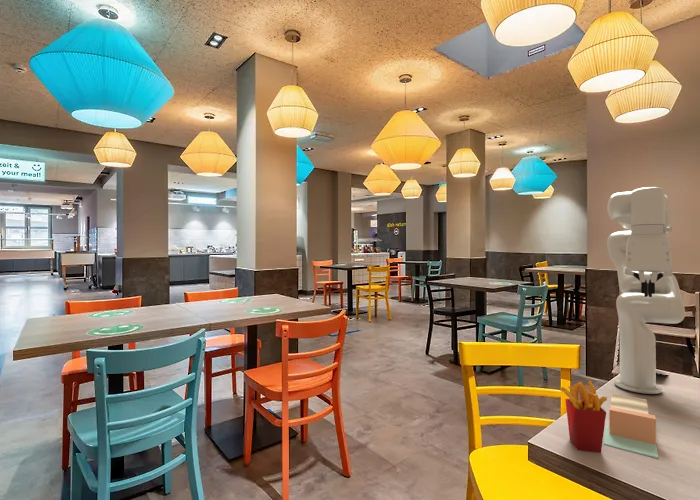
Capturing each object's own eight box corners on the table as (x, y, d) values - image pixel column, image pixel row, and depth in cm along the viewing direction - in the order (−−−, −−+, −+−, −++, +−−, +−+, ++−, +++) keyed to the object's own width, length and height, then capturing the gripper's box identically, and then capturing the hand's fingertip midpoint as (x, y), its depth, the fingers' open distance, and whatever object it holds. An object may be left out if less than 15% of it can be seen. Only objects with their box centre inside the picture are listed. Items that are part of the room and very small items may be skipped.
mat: (605, 426, 97) (605, 425, 97) (654, 438, 92) (654, 437, 92) (603, 444, 89) (603, 443, 89) (658, 458, 83) (658, 457, 83)
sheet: (611, 406, 110) (611, 393, 110) (646, 413, 105) (646, 399, 105) (610, 428, 97) (610, 412, 97) (649, 437, 92) (649, 420, 92)
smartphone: (635, 368, 135) (635, 366, 135) (645, 372, 145) (645, 369, 145) (660, 373, 130) (661, 370, 130) (669, 376, 139) (669, 374, 139)
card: (609, 406, 95) (609, 409, 93) (655, 415, 90) (655, 419, 88) (609, 429, 95) (609, 433, 93) (655, 440, 90) (655, 444, 88)
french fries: (607, 456, 84) (607, 389, 84) (567, 452, 86) (567, 386, 86) (590, 436, 93) (590, 376, 93) (554, 433, 94) (554, 374, 94)
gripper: (681, 231, 104) (681, 296, 104) (615, 232, 113) (615, 293, 113) (684, 230, 98) (685, 299, 98) (614, 232, 107) (615, 296, 107)
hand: (647, 296), depth 106 cm, fingers closed
